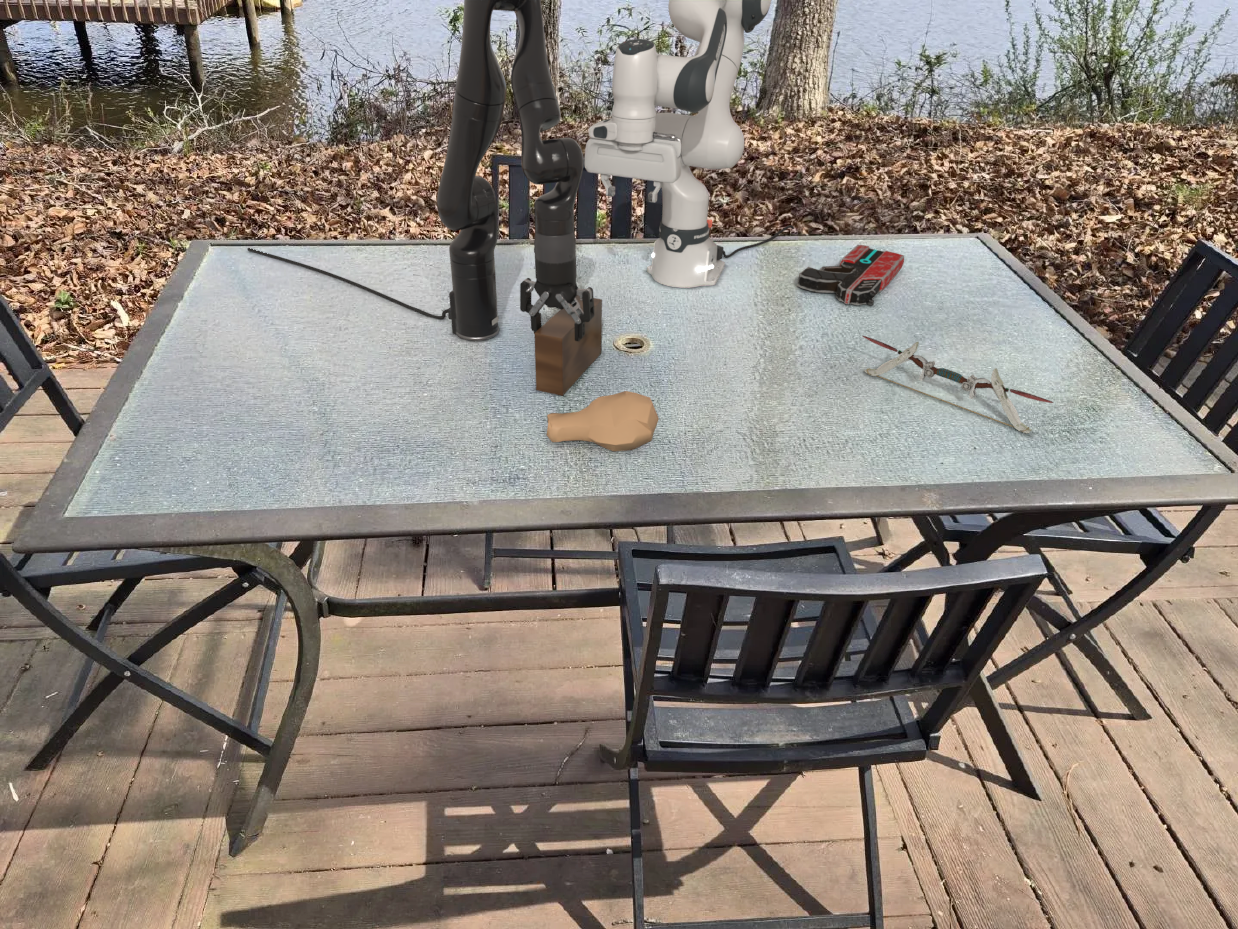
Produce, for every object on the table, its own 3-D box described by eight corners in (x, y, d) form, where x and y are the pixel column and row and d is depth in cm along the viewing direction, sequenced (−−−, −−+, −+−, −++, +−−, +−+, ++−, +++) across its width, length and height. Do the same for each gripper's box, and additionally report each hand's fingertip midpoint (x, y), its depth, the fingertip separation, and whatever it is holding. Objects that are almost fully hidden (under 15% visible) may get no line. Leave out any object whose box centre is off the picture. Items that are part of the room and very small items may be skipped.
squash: (661, 458, 153) (657, 419, 147) (548, 466, 154) (539, 428, 148) (659, 417, 161) (656, 379, 154) (552, 426, 162) (544, 388, 156)
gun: (795, 274, 213) (872, 294, 206) (838, 237, 235) (909, 253, 227) (792, 292, 216) (868, 311, 208) (835, 253, 238) (905, 269, 230)
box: (562, 396, 170) (562, 338, 163) (536, 390, 172) (534, 333, 165) (601, 353, 186) (602, 299, 179) (576, 348, 187) (576, 294, 181)
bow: (1043, 436, 162) (1060, 388, 156) (1039, 439, 161) (1056, 392, 155) (858, 367, 183) (866, 322, 177) (853, 369, 182) (862, 325, 176)
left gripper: (599, 252, 160) (599, 334, 168) (528, 242, 164) (532, 323, 173) (583, 266, 154) (584, 350, 163) (510, 255, 158) (515, 338, 167)
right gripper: (687, 131, 176) (683, 200, 183) (593, 121, 182) (592, 188, 189) (677, 138, 171) (673, 209, 179) (581, 127, 177) (581, 196, 184)
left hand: (557, 336), depth 168 cm, fingers open, 8 cm apart
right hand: (631, 198), depth 184 cm, fingers open, 8 cm apart
